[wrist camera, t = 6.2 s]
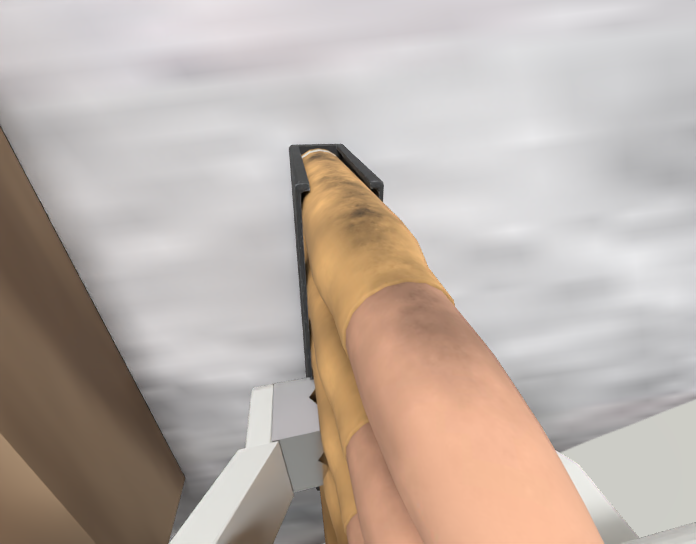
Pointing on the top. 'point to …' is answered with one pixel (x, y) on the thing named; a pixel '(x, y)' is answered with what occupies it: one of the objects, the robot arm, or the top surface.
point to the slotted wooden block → (68, 400)
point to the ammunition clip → (411, 386)
